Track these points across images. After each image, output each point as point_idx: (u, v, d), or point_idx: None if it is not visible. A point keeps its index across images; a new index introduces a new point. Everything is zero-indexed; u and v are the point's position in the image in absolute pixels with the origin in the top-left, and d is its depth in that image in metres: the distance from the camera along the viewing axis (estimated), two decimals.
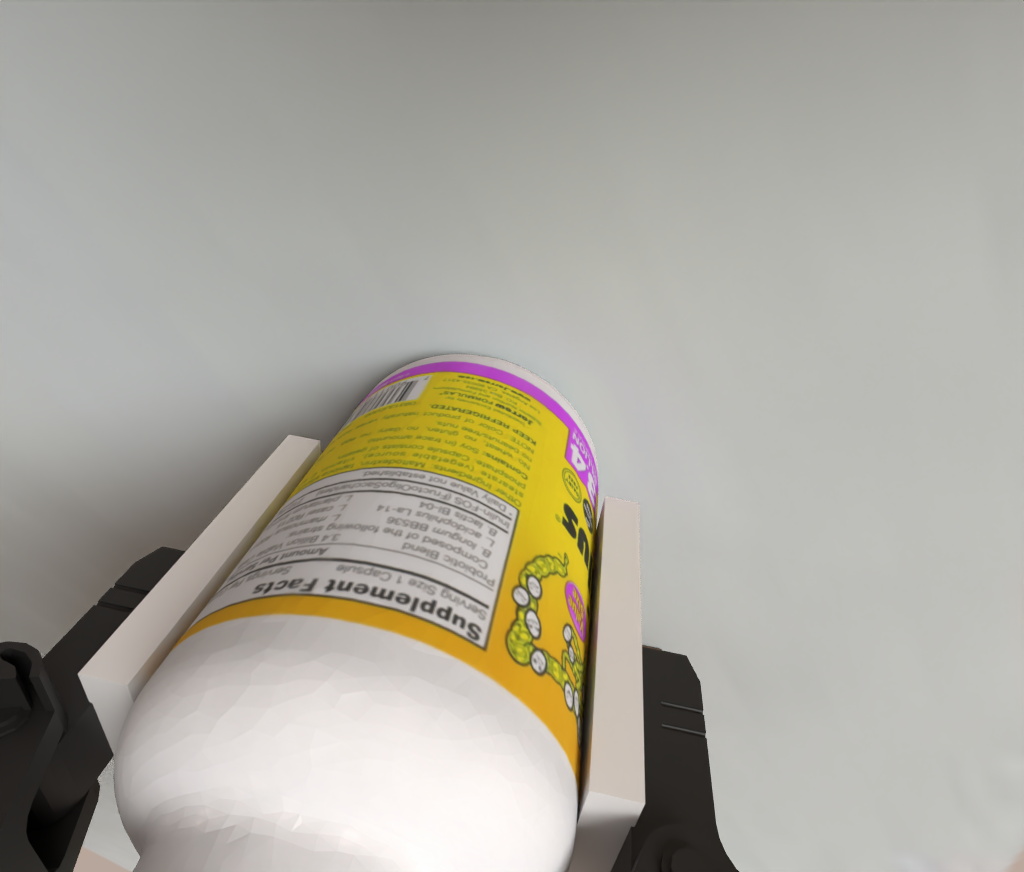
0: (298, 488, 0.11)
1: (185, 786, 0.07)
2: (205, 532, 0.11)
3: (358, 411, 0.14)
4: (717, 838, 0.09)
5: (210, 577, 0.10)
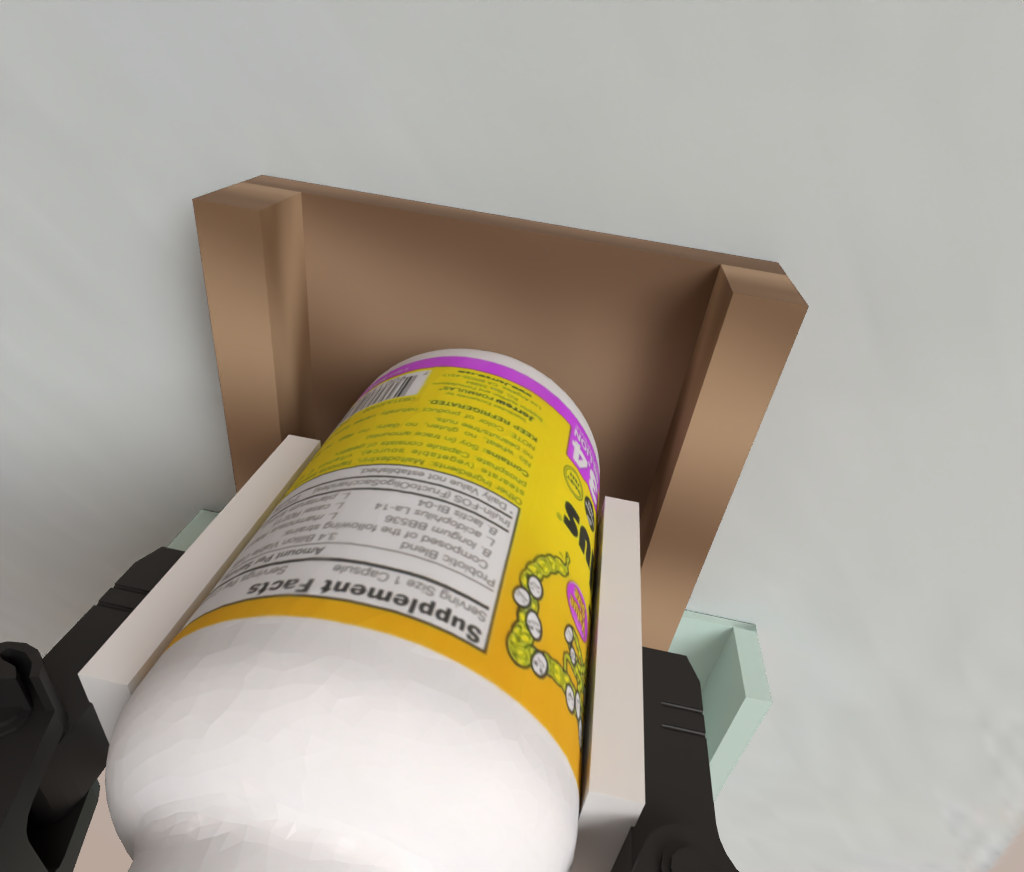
0: (295, 485, 0.11)
1: (177, 792, 0.07)
2: (206, 532, 0.11)
3: (356, 406, 0.13)
4: (717, 838, 0.09)
5: (210, 577, 0.10)
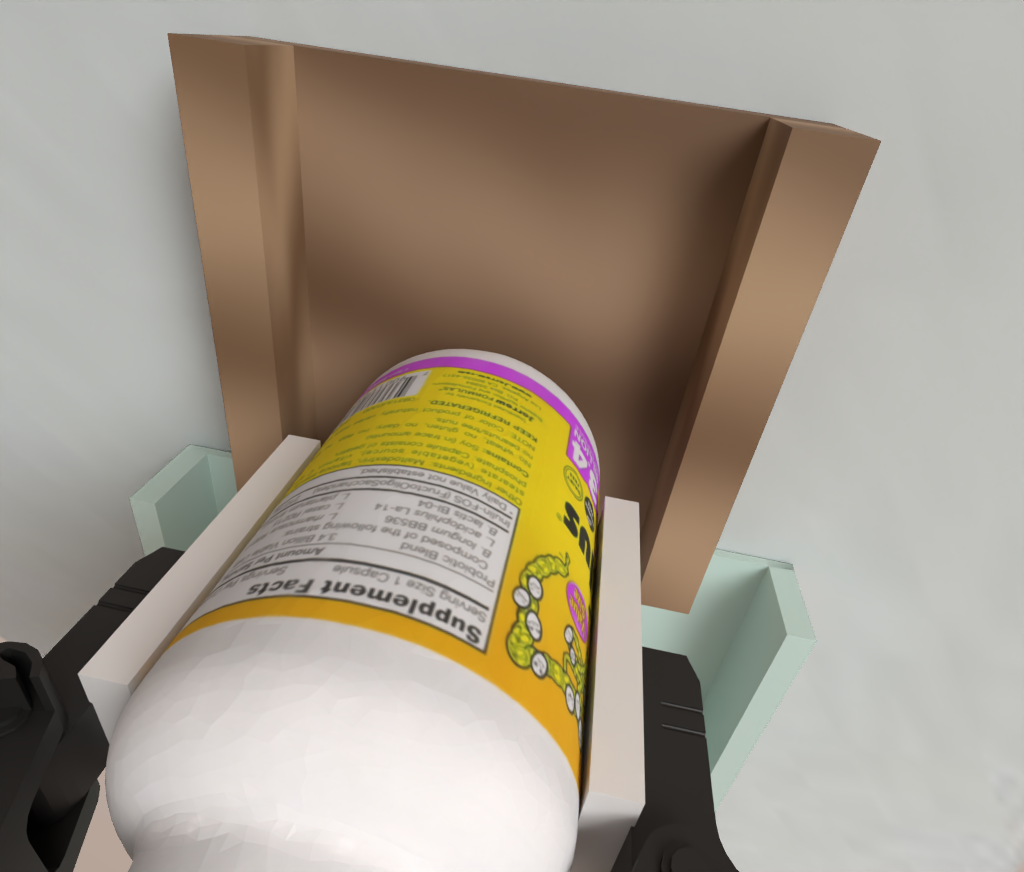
0: (295, 485, 0.11)
1: (177, 791, 0.07)
2: (205, 532, 0.11)
3: (356, 407, 0.13)
4: (717, 838, 0.09)
5: (210, 577, 0.10)
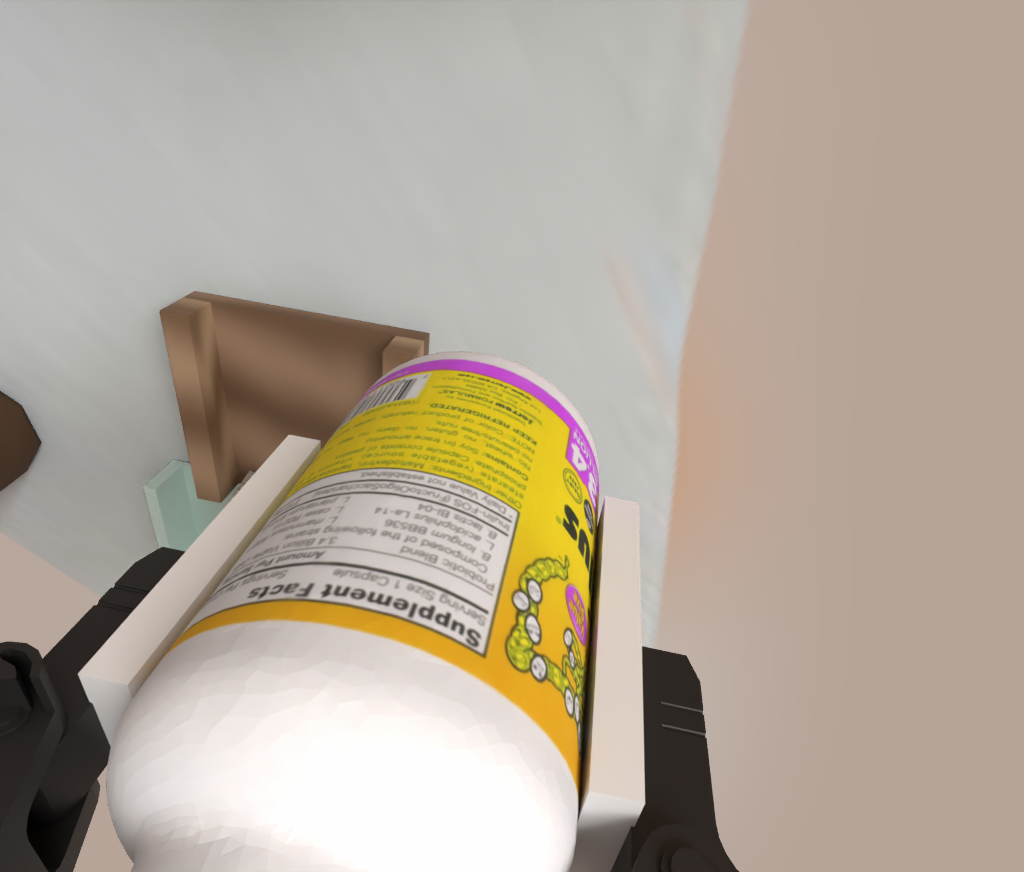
0: (295, 488, 0.11)
1: (179, 795, 0.07)
2: (205, 532, 0.11)
3: (356, 409, 0.14)
4: (717, 838, 0.09)
5: (210, 577, 0.10)
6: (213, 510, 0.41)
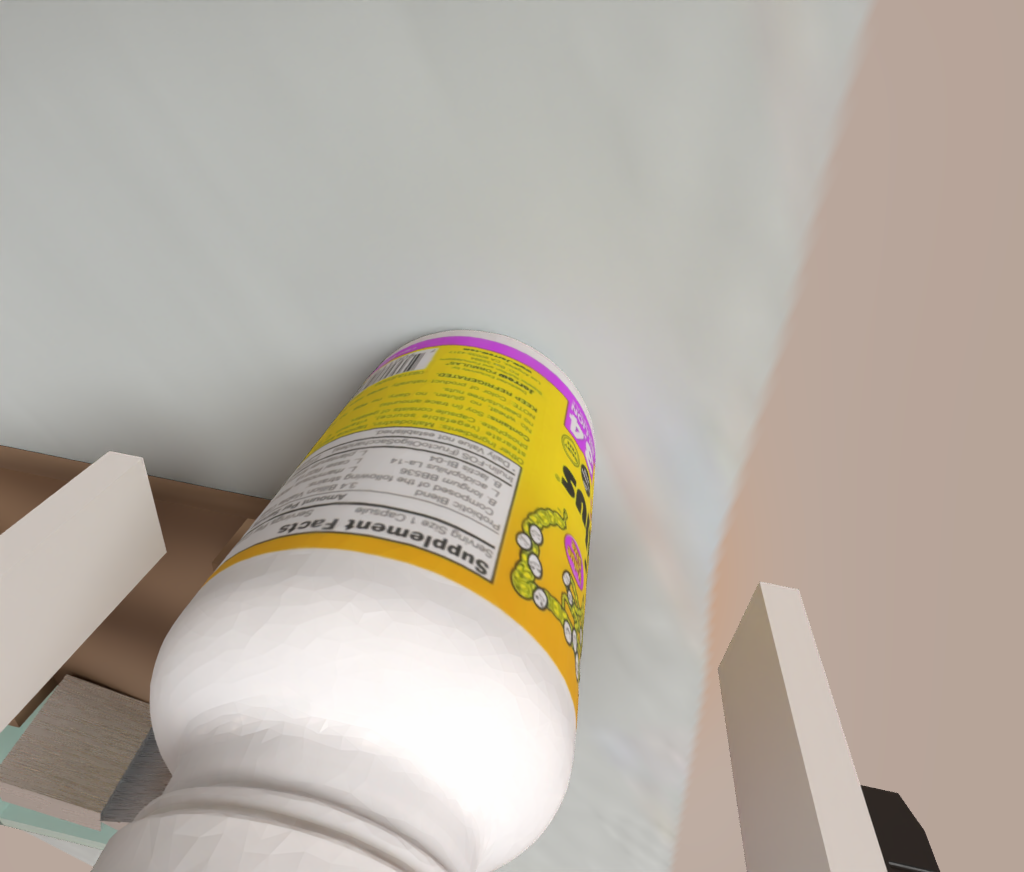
0: (313, 449, 0.12)
1: (221, 698, 0.08)
2: None
3: (368, 382, 0.14)
4: None
5: None
6: None
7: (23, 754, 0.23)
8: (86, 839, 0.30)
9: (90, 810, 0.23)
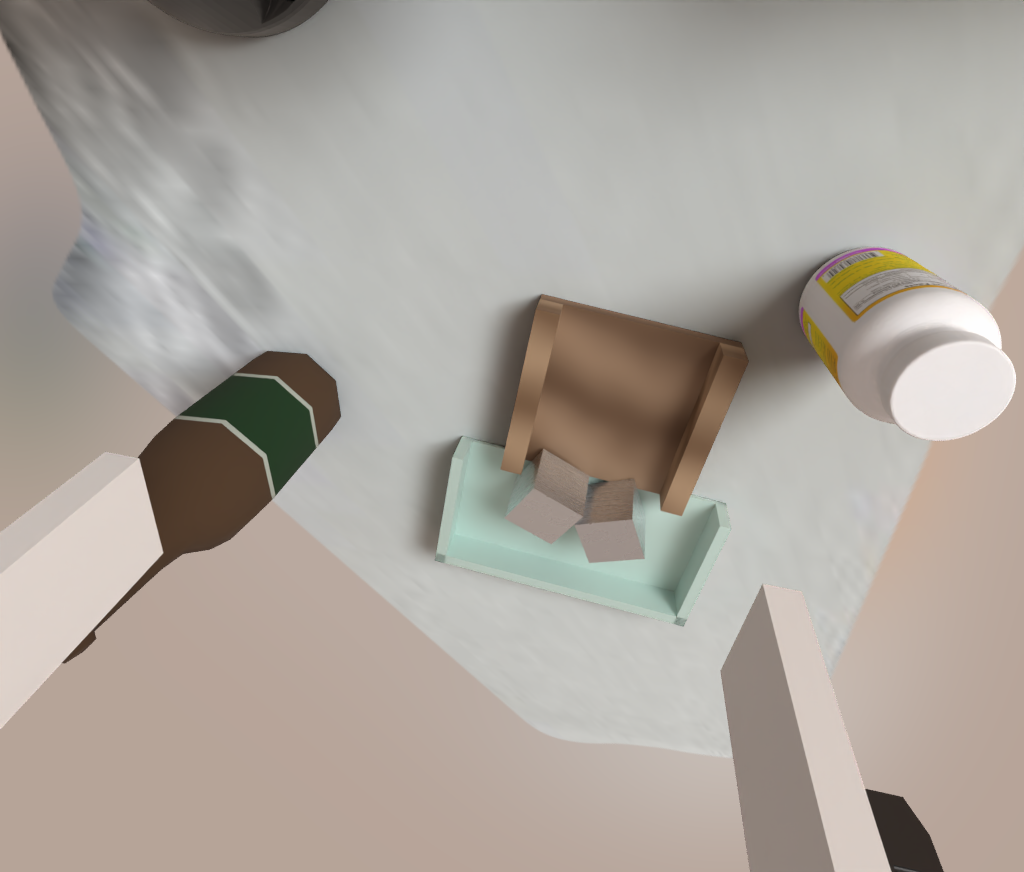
0: (859, 279, 0.31)
1: (918, 321, 0.27)
2: None
3: (845, 263, 0.34)
4: None
5: None
6: (485, 482, 0.48)
7: (542, 481, 0.42)
8: (502, 571, 0.48)
9: (577, 515, 0.42)
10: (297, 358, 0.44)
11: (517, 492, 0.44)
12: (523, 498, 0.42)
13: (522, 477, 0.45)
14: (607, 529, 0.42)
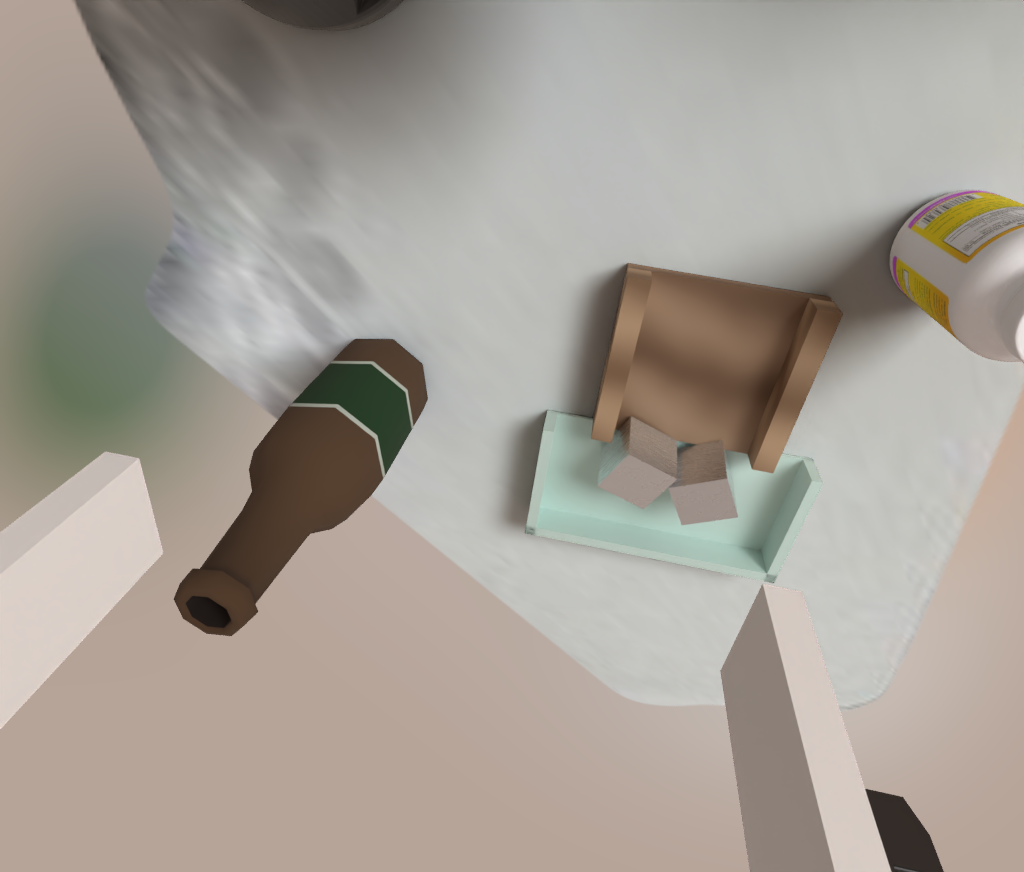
0: (962, 221, 0.32)
1: None
2: None
3: (941, 208, 0.34)
4: None
5: None
6: (570, 454, 0.49)
7: (635, 447, 0.43)
8: (592, 539, 0.49)
9: (672, 478, 0.43)
10: (386, 344, 0.45)
11: (608, 460, 0.45)
12: (617, 465, 0.43)
13: (610, 445, 0.46)
14: (701, 490, 0.43)
